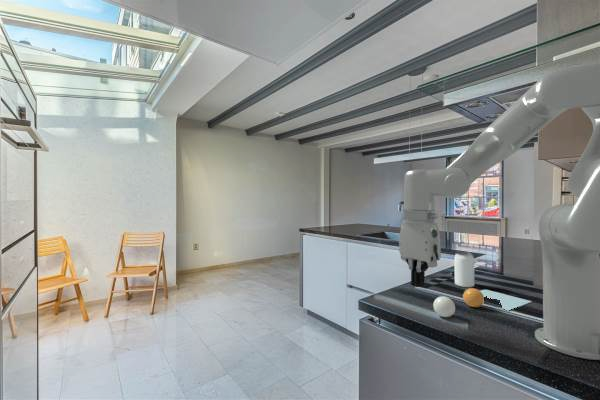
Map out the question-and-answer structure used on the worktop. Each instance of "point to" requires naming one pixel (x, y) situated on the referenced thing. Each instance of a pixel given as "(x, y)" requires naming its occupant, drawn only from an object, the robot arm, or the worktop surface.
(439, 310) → the cue ball
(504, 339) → the worktop surface
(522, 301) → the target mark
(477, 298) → the object ball
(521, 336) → the worktop surface
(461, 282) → the can
